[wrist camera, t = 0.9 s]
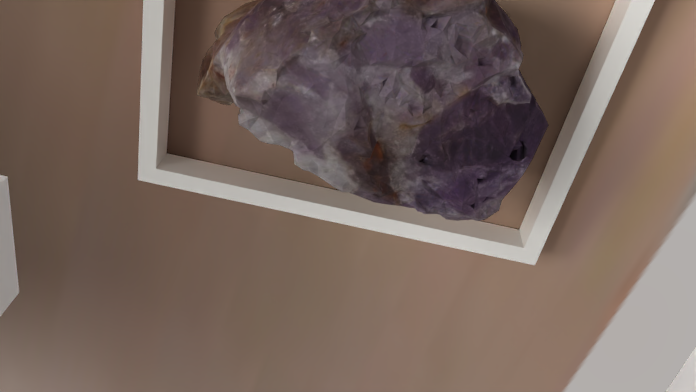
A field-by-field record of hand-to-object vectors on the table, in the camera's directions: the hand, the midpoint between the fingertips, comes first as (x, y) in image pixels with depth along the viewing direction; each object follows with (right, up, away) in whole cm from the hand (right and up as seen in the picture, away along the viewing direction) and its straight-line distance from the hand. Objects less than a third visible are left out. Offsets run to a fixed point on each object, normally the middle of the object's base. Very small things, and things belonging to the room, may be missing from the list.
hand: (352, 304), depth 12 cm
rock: (+1, +9, +14) cm, 17 cm away
